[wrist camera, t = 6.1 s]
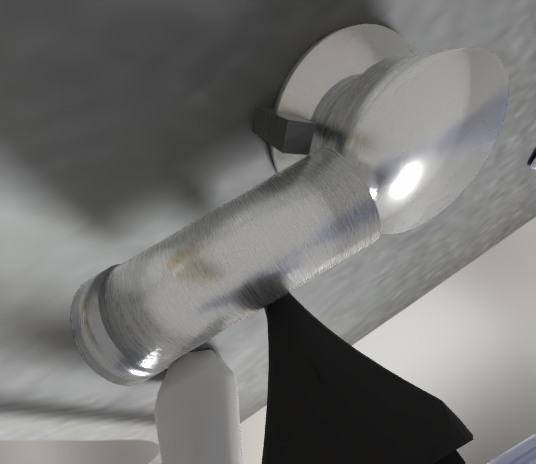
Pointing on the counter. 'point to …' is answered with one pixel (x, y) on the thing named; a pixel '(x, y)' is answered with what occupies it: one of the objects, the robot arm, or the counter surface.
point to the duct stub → (320, 89)
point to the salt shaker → (199, 412)
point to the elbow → (301, 212)
